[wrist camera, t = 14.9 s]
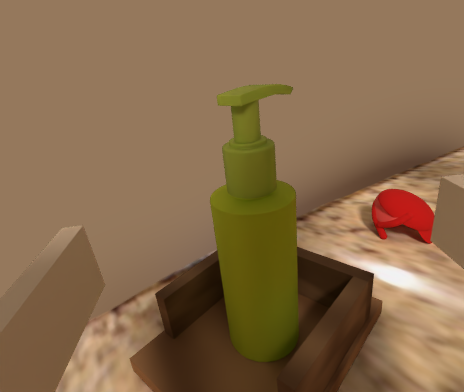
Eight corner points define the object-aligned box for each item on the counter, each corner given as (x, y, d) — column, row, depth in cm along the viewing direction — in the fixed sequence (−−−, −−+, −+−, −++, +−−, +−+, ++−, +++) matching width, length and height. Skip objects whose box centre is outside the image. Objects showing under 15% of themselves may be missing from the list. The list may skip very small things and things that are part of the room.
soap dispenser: (318, 319, 27) (321, 78, 19) (271, 377, 23) (249, 96, 15) (264, 291, 31) (248, 81, 23) (216, 336, 27) (174, 96, 18)
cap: (357, 216, 39) (403, 205, 34) (370, 186, 42) (413, 171, 38) (393, 257, 41) (442, 252, 36) (403, 225, 44) (449, 216, 39)
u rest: (261, 262, 38) (257, 219, 36) (381, 313, 29) (387, 260, 27) (133, 371, 26) (115, 318, 24) (268, 512, 17) (261, 451, 15)
